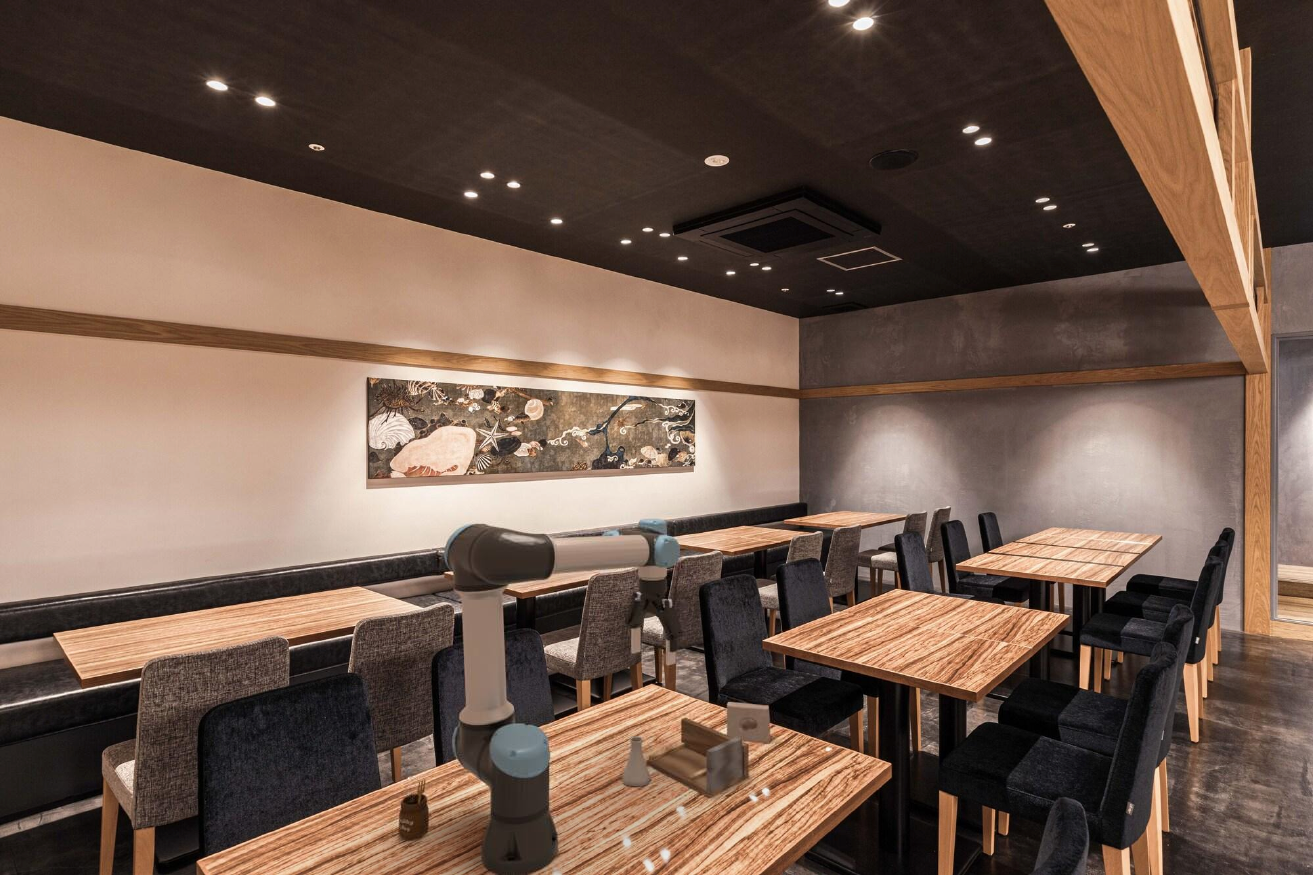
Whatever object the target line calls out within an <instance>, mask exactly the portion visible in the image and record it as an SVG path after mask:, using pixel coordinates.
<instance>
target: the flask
mask: <svg viewBox="0 0 1313 875" xmlns="http://www.w3.org/2000/svg"><path fill="white" fill-rule="evenodd" d="M629 741H630V751H629V757H628V760H627V762H626V765H625V768H624V771H623V773H622V777H621V780H622V783H623V785H625V786H629V787H630V786H631V787H641V786H648V784H649V783H650V782H651V781H652V778H651V775H650V773H649V770H648V765H647V762H646V761H645V758H644V754H643V747H642V746H643V744H642V743H643V741H644V739H643V737H642V736H637V735H636V736H631V737H630V738H629Z"/></svg>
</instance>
